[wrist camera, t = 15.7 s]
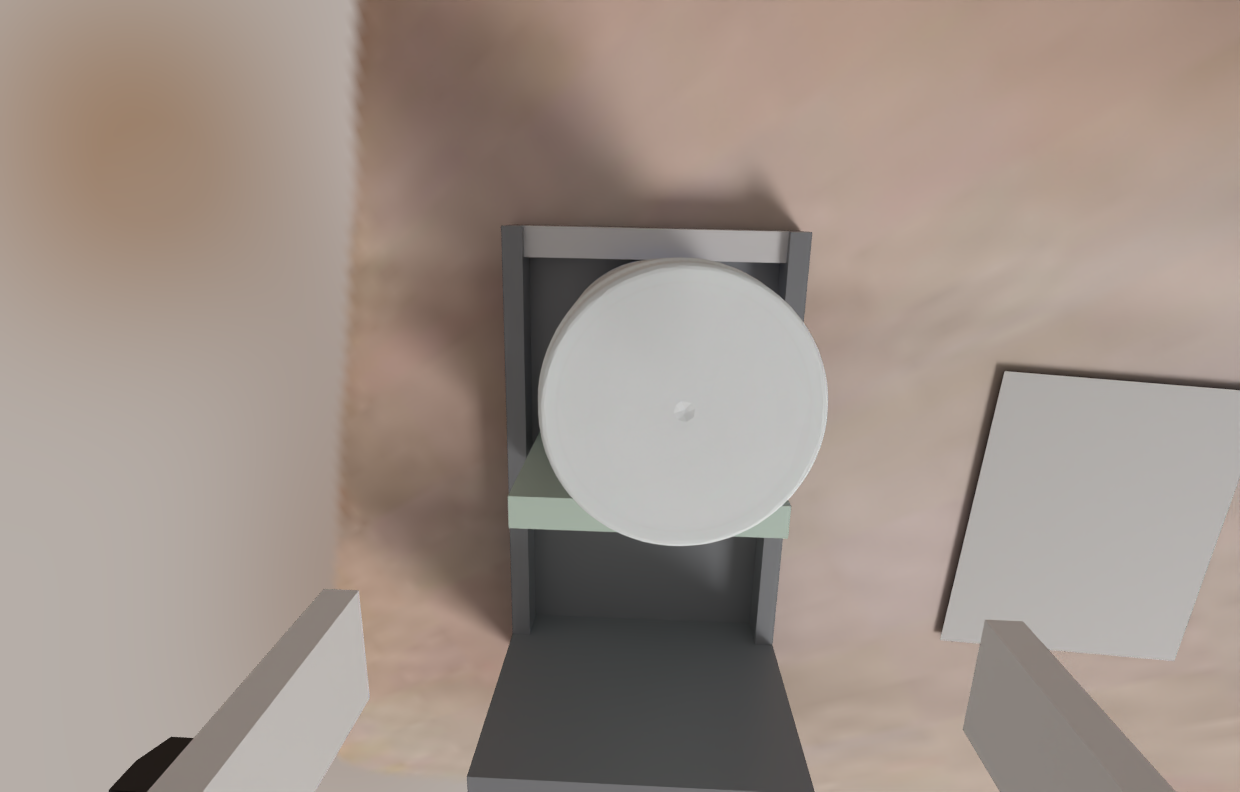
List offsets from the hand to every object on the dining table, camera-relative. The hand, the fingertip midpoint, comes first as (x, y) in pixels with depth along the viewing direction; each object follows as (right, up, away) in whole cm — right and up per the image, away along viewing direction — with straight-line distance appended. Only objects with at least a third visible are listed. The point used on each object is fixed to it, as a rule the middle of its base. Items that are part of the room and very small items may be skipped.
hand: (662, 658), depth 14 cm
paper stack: (+30, -6, +25) cm, 40 cm away
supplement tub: (+1, +8, +21) cm, 23 cm away
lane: (+1, +2, +24) cm, 24 cm away
